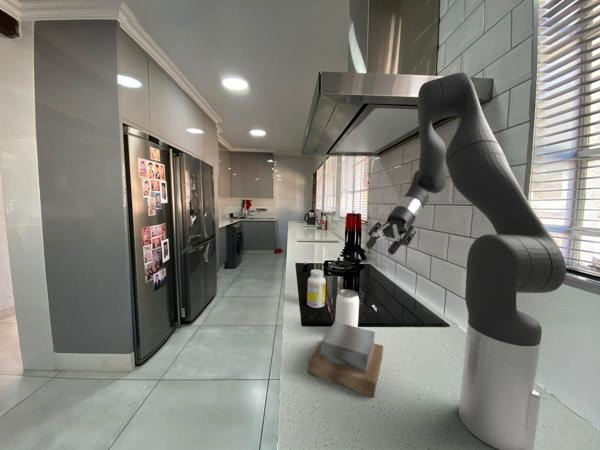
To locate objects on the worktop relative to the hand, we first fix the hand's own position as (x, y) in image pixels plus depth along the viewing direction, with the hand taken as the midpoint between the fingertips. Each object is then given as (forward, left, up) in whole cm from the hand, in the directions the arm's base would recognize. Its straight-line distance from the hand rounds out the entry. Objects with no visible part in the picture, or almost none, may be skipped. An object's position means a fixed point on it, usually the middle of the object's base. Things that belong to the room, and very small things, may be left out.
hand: (378, 250), depth 74 cm
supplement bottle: (+21, -4, -24) cm, 32 cm away
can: (+6, +10, -24) cm, 27 cm away
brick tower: (+2, +24, -24) cm, 34 cm away
